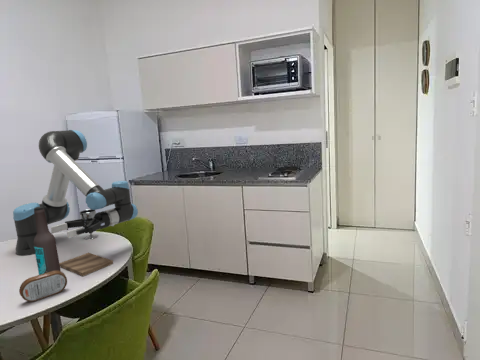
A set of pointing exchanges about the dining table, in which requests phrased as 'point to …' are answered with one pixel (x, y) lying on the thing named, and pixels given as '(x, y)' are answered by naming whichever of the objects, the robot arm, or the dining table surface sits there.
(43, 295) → the tin
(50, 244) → the beer bottle
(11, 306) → the dining table surface
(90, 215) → the wine glass
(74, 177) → the robot arm
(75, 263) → the serving board
